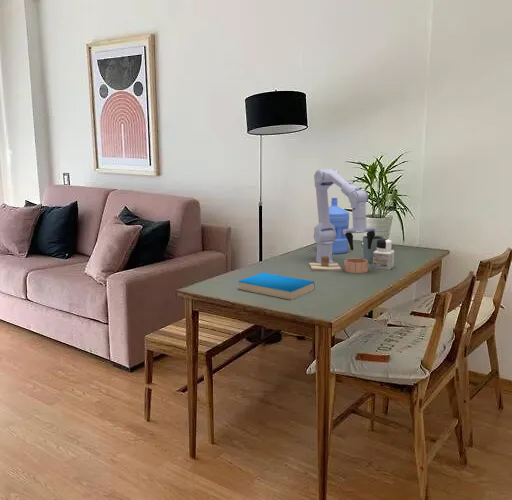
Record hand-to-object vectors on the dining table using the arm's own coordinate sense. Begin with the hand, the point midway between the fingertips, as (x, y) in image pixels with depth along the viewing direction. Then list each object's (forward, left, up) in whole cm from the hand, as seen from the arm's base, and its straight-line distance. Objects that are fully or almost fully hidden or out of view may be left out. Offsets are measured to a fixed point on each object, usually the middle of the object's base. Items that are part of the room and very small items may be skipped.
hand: (360, 249), depth 232 cm
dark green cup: (-22, +11, -11) cm, 27 cm away
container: (-10, +13, -11) cm, 20 cm away
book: (+24, -38, -11) cm, 46 cm away
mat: (-9, -14, -11) cm, 20 cm away
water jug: (-47, -4, -11) cm, 48 cm away
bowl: (-3, -1, -11) cm, 11 cm away
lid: (-9, -14, -10) cm, 19 cm away
